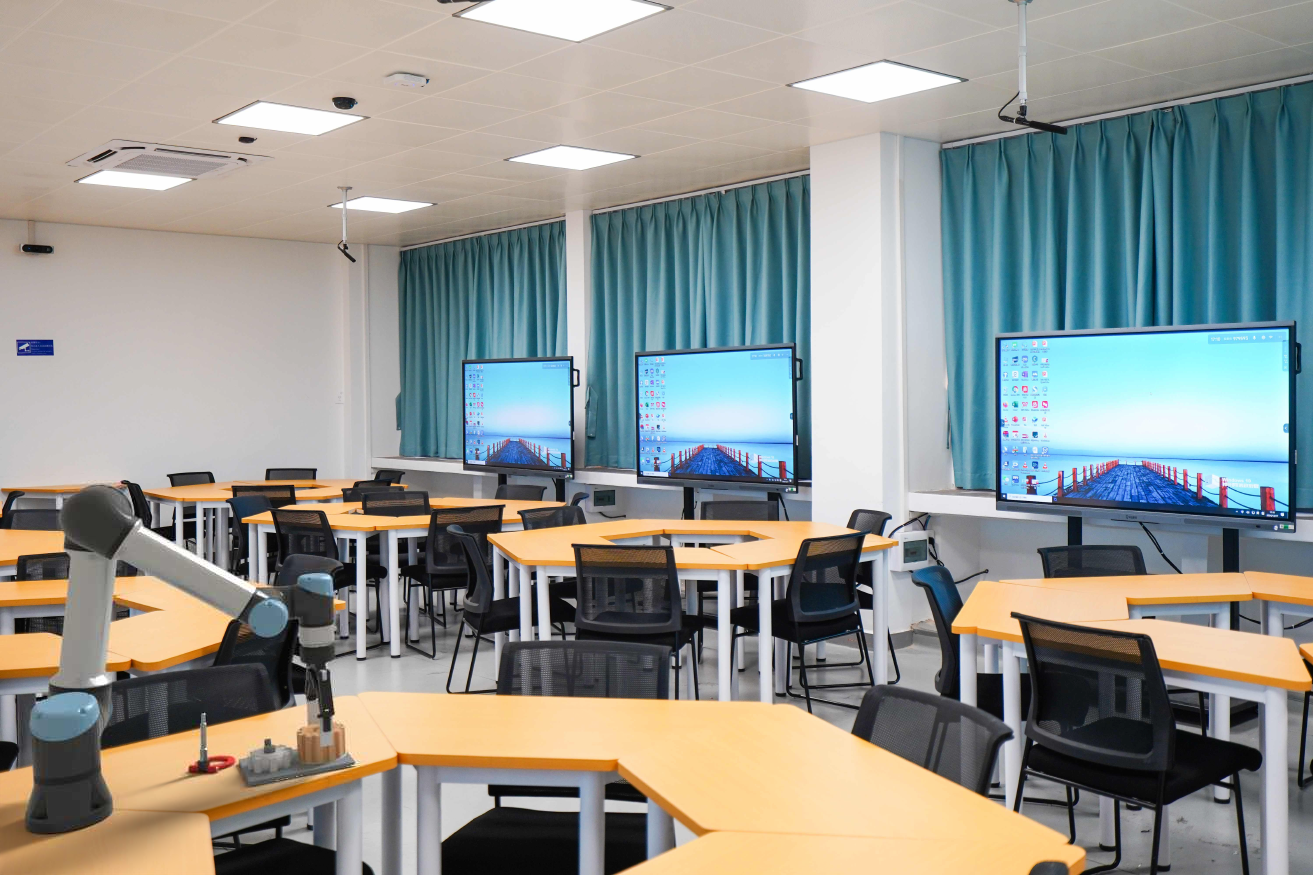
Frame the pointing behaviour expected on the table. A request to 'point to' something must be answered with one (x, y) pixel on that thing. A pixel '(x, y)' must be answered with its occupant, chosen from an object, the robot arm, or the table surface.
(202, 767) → the tow hook
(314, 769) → the gear board
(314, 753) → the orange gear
